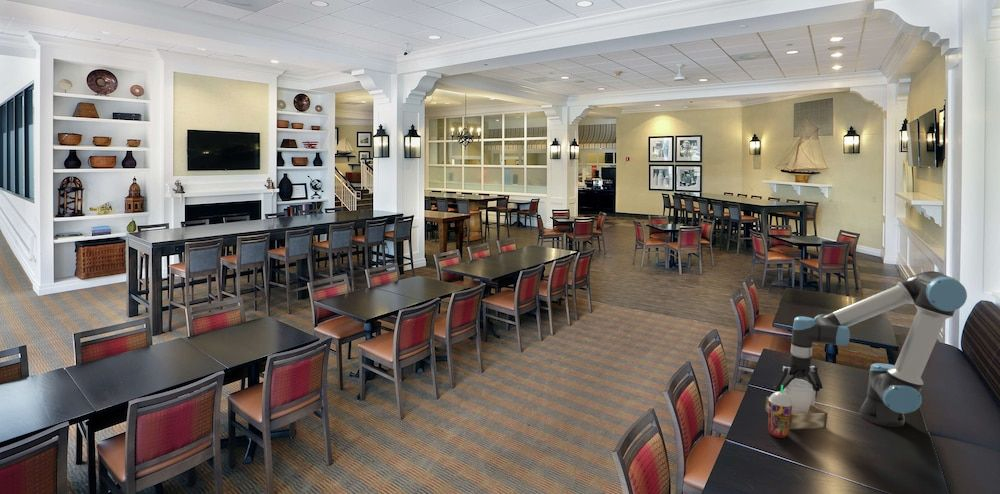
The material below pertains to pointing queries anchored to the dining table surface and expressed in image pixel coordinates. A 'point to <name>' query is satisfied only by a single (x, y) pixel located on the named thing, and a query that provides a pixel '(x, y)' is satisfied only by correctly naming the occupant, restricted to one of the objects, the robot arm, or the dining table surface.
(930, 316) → the robot arm
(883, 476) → the dining table surface
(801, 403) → the jar
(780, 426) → the smoothie
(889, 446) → the dining table surface
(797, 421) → the crate
